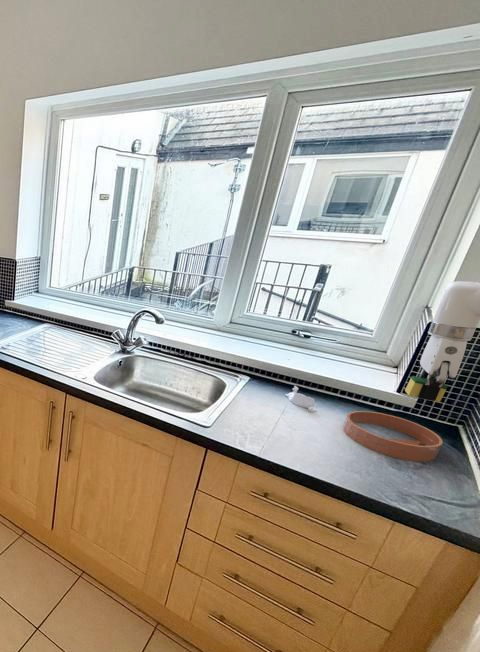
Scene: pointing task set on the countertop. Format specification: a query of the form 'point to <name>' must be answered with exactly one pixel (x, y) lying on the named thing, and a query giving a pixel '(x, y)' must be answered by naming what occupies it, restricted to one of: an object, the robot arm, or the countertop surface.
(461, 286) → the robot arm
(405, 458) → the terracotta oval ring
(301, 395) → the wrapped candy
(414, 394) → the sponge
